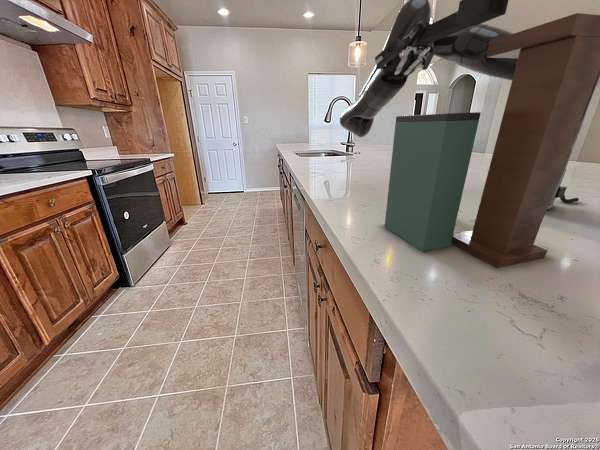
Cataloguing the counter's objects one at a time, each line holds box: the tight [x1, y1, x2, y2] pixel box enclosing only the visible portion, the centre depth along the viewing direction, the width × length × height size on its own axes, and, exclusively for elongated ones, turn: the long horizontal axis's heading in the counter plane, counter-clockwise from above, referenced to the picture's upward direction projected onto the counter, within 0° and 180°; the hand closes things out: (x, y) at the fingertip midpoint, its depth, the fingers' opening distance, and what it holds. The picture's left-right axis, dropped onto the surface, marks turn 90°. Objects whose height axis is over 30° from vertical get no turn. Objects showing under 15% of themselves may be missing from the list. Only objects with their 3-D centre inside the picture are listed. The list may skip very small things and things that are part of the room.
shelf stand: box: [451, 12, 600, 269], centre depth 38 cm, size 10×11×32 cm
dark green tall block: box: [384, 111, 482, 252], centre depth 45 cm, size 6×12×22 cm, turn 15°
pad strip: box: [411, 0, 510, 48], centre depth 43 cm, size 4×18×3 cm, turn 15°
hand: (431, 24), depth 46 cm, fingers closed on pad strip, 3 cm apart
